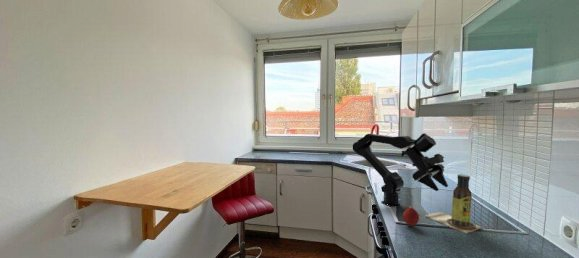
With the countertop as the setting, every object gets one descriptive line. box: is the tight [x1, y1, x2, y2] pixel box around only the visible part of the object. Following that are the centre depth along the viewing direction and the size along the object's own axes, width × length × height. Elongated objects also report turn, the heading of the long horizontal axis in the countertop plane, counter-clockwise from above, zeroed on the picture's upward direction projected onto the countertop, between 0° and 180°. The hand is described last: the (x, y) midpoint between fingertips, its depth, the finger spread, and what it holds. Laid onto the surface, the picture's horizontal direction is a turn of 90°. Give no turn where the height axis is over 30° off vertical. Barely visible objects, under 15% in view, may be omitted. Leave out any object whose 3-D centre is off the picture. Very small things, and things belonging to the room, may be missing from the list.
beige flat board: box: [424, 211, 483, 234], centre depth 106 cm, size 17×10×1 cm, turn 24°
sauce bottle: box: [450, 173, 473, 226], centre depth 102 cm, size 6×6×20 cm
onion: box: [402, 206, 420, 227], centre depth 102 cm, size 6×6×8 cm
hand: (442, 188), depth 108 cm, fingers open, 9 cm apart
